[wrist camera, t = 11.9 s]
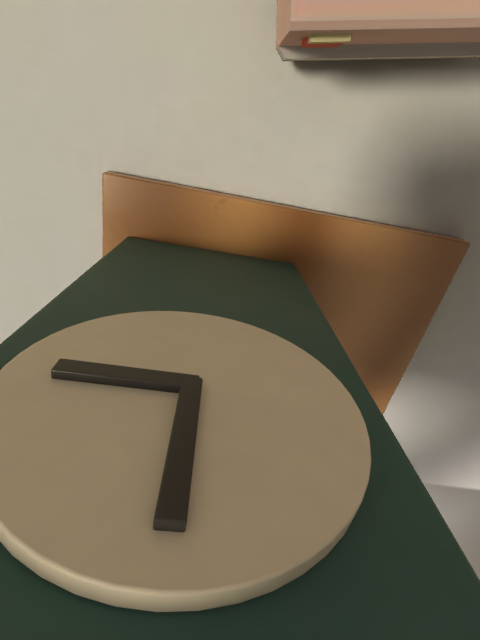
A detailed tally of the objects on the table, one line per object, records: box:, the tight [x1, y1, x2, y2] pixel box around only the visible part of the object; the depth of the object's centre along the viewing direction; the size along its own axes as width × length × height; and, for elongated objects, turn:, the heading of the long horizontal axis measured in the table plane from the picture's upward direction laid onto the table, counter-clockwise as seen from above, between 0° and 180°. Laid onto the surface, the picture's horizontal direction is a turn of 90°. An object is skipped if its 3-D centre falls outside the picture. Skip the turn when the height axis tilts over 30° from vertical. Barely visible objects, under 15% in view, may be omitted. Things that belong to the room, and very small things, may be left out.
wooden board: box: [103, 171, 470, 415], centre depth 15 cm, size 14×10×1 cm
